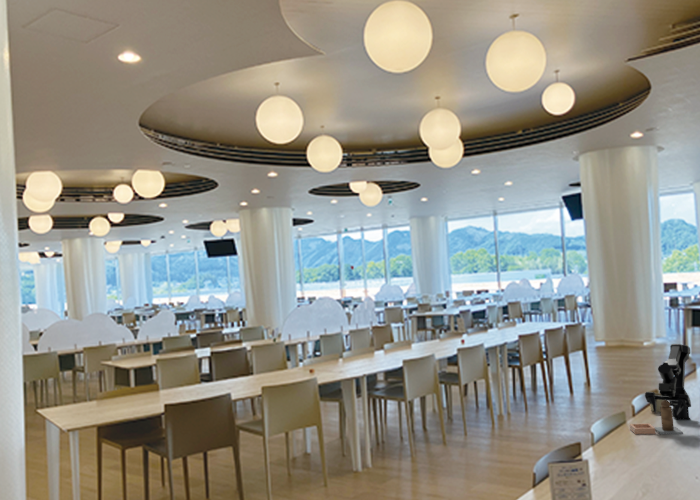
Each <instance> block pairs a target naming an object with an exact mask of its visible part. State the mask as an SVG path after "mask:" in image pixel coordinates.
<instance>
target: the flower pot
mask: <svg viewBox="0 0 700 500" xmlns="http://www.w3.org/2000/svg"><path fill="white" fill-rule="evenodd" d="M654 393H655V395H661V394H660V392H654ZM662 401H663V400H657V402H656V403H657V409H656V413H661V410H660V407H661V406H662V405H661V402H662ZM649 405H650V411H652V412H654V409H653V405H652V404H650V403H649Z"/></svg>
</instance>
